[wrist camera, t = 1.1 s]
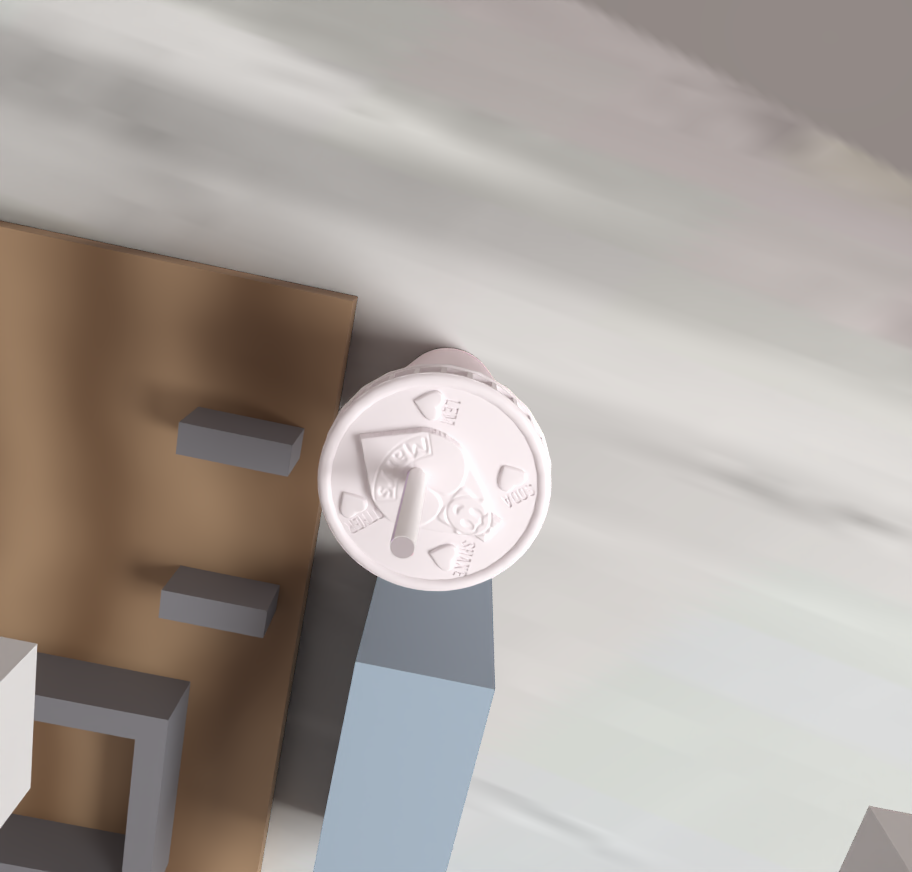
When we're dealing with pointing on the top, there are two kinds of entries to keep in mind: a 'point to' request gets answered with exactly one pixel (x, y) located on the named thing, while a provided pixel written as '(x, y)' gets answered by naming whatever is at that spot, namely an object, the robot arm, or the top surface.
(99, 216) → the top surface
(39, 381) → the jig board
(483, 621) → the light blue rectangular block
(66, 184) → the top surface
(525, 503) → the smoothie
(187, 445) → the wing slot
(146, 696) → the frame
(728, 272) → the top surface
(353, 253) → the top surface
